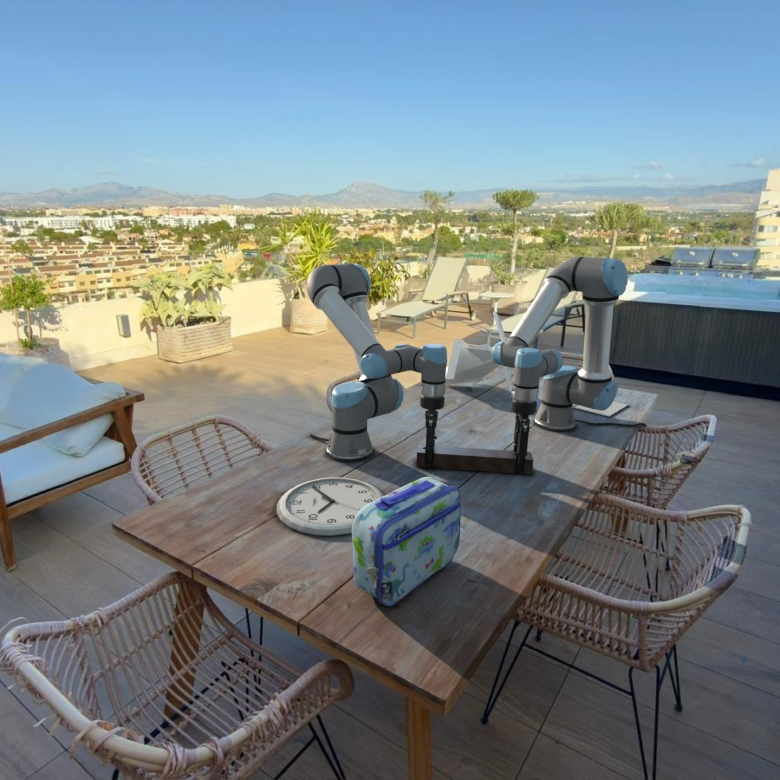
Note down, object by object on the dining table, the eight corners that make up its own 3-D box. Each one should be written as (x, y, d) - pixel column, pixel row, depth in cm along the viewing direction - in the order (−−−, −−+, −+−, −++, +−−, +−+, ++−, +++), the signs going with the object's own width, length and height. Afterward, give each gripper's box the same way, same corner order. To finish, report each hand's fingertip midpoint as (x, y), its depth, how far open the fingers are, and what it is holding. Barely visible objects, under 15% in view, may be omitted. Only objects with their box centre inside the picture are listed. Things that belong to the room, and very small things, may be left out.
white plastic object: (461, 429, 252) (437, 405, 227) (444, 352, 274) (420, 323, 250) (535, 404, 240) (518, 377, 215) (510, 326, 262) (492, 293, 237)
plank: (529, 466, 168) (530, 451, 166) (532, 474, 162) (533, 460, 161) (417, 458, 172) (418, 444, 170) (416, 466, 166) (416, 452, 165)
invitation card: (608, 416, 214) (573, 407, 224) (608, 416, 214) (573, 408, 224) (628, 404, 229) (594, 396, 238) (628, 405, 229) (594, 397, 238)
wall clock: (392, 527, 129) (268, 531, 127) (391, 533, 130) (269, 537, 127) (383, 473, 158) (282, 475, 155) (383, 478, 158) (282, 480, 156)
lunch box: (381, 619, 101) (382, 525, 95) (345, 592, 109) (344, 503, 102) (464, 563, 119) (469, 480, 113) (428, 543, 126) (432, 464, 120)
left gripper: (422, 385, 171) (419, 449, 178) (418, 403, 153) (415, 475, 160) (445, 386, 170) (441, 451, 177) (444, 405, 152) (440, 477, 159)
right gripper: (508, 389, 168) (503, 455, 175) (515, 409, 150) (508, 481, 157) (532, 390, 167) (526, 456, 174) (542, 410, 149) (534, 483, 156)
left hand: (429, 462), depth 168 cm, fingers closed on plank, 6 cm apart
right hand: (517, 468), depth 165 cm, fingers closed on plank, 6 cm apart
